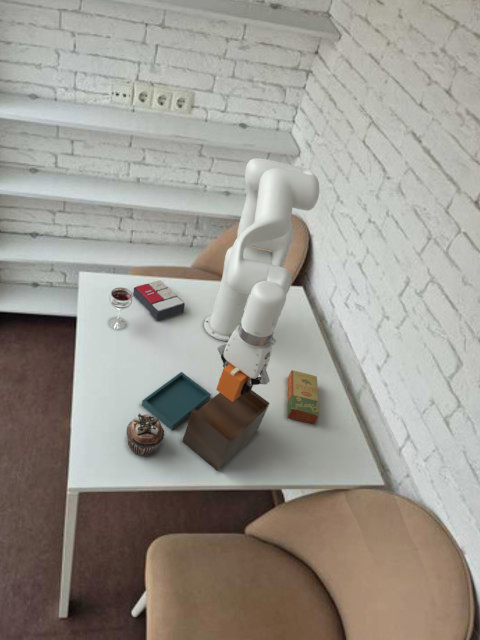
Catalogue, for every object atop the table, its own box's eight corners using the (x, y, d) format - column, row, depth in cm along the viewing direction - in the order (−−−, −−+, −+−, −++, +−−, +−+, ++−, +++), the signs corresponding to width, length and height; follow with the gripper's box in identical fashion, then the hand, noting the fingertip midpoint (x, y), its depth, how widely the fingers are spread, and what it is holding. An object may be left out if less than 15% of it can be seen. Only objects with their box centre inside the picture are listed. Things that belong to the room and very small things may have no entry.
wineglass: (132, 323, 171) (137, 294, 163) (119, 334, 166) (123, 304, 158) (115, 313, 173) (119, 284, 165) (102, 323, 168) (105, 294, 161)
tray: (180, 376, 157) (181, 371, 156) (209, 398, 153) (211, 394, 152) (141, 405, 146) (142, 400, 145) (171, 430, 142) (172, 425, 141)
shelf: (222, 406, 152) (233, 376, 144) (256, 432, 147) (269, 402, 139) (182, 441, 140) (191, 411, 132) (217, 471, 135) (229, 441, 127)
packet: (235, 373, 136) (244, 350, 131) (252, 385, 134) (261, 362, 129) (216, 389, 131) (224, 366, 125) (232, 402, 128) (241, 379, 123)
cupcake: (165, 456, 135) (172, 432, 129) (128, 462, 132) (133, 437, 126) (156, 426, 142) (162, 401, 136) (120, 430, 139) (125, 405, 132)
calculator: (160, 278, 186) (185, 302, 177) (159, 288, 188) (183, 312, 180) (133, 285, 180) (158, 310, 171) (132, 295, 182) (156, 321, 174)
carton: (312, 385, 165) (317, 375, 163) (314, 425, 153) (320, 415, 150) (286, 378, 165) (291, 369, 163) (286, 418, 153) (291, 408, 150)
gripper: (295, 345, 119) (271, 397, 131) (234, 305, 126) (217, 358, 137) (277, 360, 114) (254, 414, 126) (215, 318, 121) (199, 372, 133)
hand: (235, 384), depth 132 cm, fingers closed on packet, 5 cm apart
